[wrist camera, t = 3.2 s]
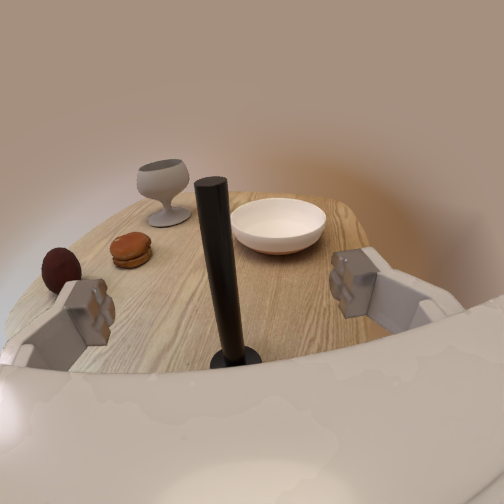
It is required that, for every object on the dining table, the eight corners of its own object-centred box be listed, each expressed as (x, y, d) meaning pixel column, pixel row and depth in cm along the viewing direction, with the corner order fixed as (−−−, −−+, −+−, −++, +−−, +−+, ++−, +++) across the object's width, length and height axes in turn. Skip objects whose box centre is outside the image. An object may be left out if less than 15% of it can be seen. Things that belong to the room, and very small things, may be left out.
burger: (149, 267, 54) (143, 247, 52) (108, 272, 53) (101, 252, 51) (156, 243, 63) (152, 225, 60) (120, 248, 62) (115, 231, 59)
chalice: (147, 234, 67) (134, 177, 59) (143, 215, 78) (133, 166, 70) (200, 221, 71) (192, 164, 64) (188, 204, 82) (181, 155, 75)
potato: (75, 270, 54) (62, 234, 49) (97, 290, 48) (81, 249, 43) (46, 289, 48) (29, 253, 44) (62, 313, 42) (42, 272, 37)
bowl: (302, 217, 70) (303, 194, 67) (340, 256, 54) (343, 228, 51) (225, 228, 67) (223, 204, 64) (243, 275, 50) (240, 245, 47)
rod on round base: (272, 372, 33) (268, 175, 20) (242, 406, 29) (211, 201, 16) (234, 352, 36) (210, 167, 23) (204, 381, 32) (152, 189, 19)
